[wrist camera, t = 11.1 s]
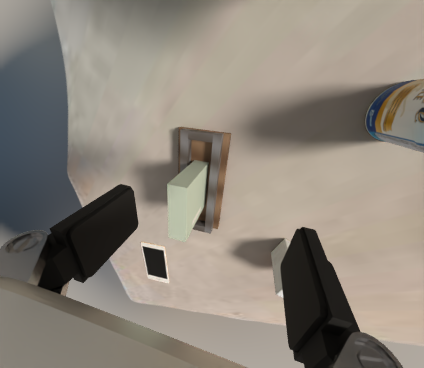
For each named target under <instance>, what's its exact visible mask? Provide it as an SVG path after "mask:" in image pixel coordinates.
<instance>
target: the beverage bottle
mask: <svg viewBox="0 0 424 368" xmlns="http://www.w3.org/2000/svg"><path fill="white" fill-rule="evenodd" d="M365 125H366V129H367V131H368V132H369V134H370V135H371V136H372V137H374V138H376V139H378V140H381V141H384V142H389V143H392V144H396V145H399V146H403V147H406V148H410V149H413V150H416V151H420V152H423V153H424V79H420V80H411V81H406V82H402V83H399V84H396V85H394V86H392V87H390V88H388V89H387V90H385V91H384V92H382V93H381V94H380V95H379V96H378V97H377V98H376V99H375V100H374V101H373V102H372V104H371V105H370V107H369V109H368V111H367V114H366V118H365Z"/></svg>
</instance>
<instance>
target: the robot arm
mask: <svg viewBox="0 0 424 368" xmlns="http://www.w3.org/2000/svg"><path fill="white" fill-rule="evenodd" d="M137 227H138V218H137V211H136V204H135V197H134V191H133V190H132V188H131V187H130V186H127V185H122V184H120V185H118V186H116V187H115V188H113V189H112V190H110V191H108V192H107V193H105V194H104V195H102V196H100V197H99V198H97V199H96V200H94V201H92V202H91V203H89V204H88V205H86V206H85V207H83V208H81V209H80V210H78V211H77V212H75V213H74V214H72V215H70V216H69V217H67V218H66V219H64V220H62V221H61V222H59V223H58V224H56V225H54V226H53V227H52V228H50V230H51V234H50V235H48V234H47V233H46V232H45V231H42V230H34V231H29V232H25V233H22V234H19V235H17V236H15V237H13V238H11V239H10V240H9V241H7V242H6V243H5V244H4V245H3V246H2V247H1V248H0V368H246V367H245V366H242V365H240V364H237V363H235V362H232V361H230V360H227V359H225V358H222V357H219V356H217V355H214V354H212V353H209V352H207V351H204V350H202V349H199V348H197V347H194V346H192V345H189V344H187V343H184V342H182V341H179V340H177V339H174V338H171V337H169V336H166V335H164V334H161V333H159V332H156V331H153V330H151V329H148V328H145V327H143V326H141V325H138V324H136V323H133V322H130V321H128V320H125V319H123V318H120V317H118V316H115V315H112V314H110V313H107V312H105V311H102V310H99V309H97V308H94V307H92V306H89V305H86V304H84V303H81V302H79V301H76V300H73V299H71V298H68V297H66V293H67V289H68V284H69V281H70V280H71V279H72V278H74V280H76V281H79V282H82V283H84V282H85V281H86V280H87V278H88V277H91V276H93V275H94V274H95V273H96V272H97V270H99V268H100V267H101V266H102V265H103V264H104V263H105V262H106V261H107V260H108V259H109V258H110V257H111V256H112V255H113V253H114V252H115V251H116V250H117V249H118V248H119V247H120V246H121V245H122V244H123V243H124V242H125V241H126V240H127V238H128V237H129V236H130V235H131V234H132V233H133V232H134V231H135V230H136V229H137ZM280 271H281V280H282V290H283V299H284V308H285V317H286V326H287V335H288V344H289V348H290V349H291V350H293V352H294V359H295V361H298V362H301V363H304V366H305V368H403V367H402V365H401V363H400V362H399V361H398V359H397V358H396V357H395V356H394V355H393V353H392V352H391V351H390V350H389V349H388V348H387V347H386V346H385V345H384V344H382V343H381V342H379V341H378V340H377V339H376V338H374V337H372V336H370V335H368V334H366V333H362V332H360V330H359V327H358V325H357V322H356V320H355V318H354V315H353V313H352V311H351V308H350V306H349V303H348V301H347V299H346V296H345V294H344V291H343V289H342V287H341V284H340V282H339V279H338V277H337V275H336V272H335V270H334V268H333V266H332V264H331V263H330V262H329V261H328V260H327V258H326V255H325V253H324V250H323V248H322V245H321V243H320V240H319V238H318V235H317V233H316V231H315V230H313V229H309V228H305V227H302V228H301V229H297V230H296V232H295V234H294V236H293V238H292V240H291V243H290V245H289V247H288V249H287V251H286V253H285V256H284V258H283V260H282V262H281V266H280Z"/></svg>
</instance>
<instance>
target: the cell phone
mask: <svg viewBox="0 0 424 368" xmlns="http://www.w3.org/2000/svg"><path fill="white" fill-rule="evenodd" d="M141 248H142V253H143V257H144V262H145V267H146V272H147V277H148V278H149V279H153V280H157V281H161V282H165V283H169V276H168V268H167V260H166V252H165V247H164V246H160V245H155V244H151V243H146V242H141Z"/></svg>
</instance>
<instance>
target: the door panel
mask: <svg viewBox="0 0 424 368" xmlns="http://www.w3.org/2000/svg"><path fill="white" fill-rule="evenodd" d="M208 166H209V162H203V161H197V160H194V161H193V162H192V163H191V164H190V165H188V166H187V167H186V168H185V169H184V170H183V171H182V172H180V173H179V174H178V175H177V176H176V177H175V178H174V179H172V180H171V181H170V182H169V183H168V184H167V199H168V234H169V238H171V239H175V240H179V241H183V242H186V240H187V239H188V237H189V235H190V233H191V231H192V229H193V227H194V225H195V223H196V221H197V219H198V217H199V216H200V214H201V212H202V210H203V208H204V206H205V202H206V190H207V178H208Z"/></svg>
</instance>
